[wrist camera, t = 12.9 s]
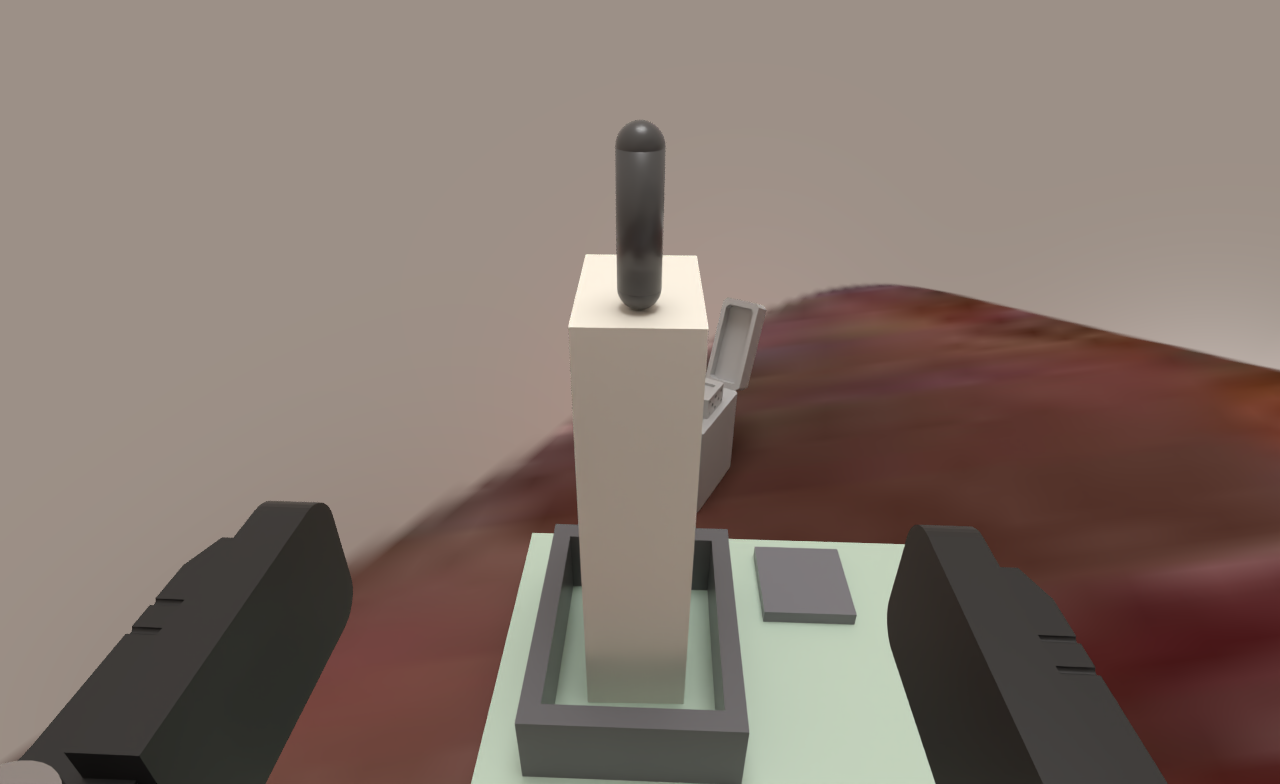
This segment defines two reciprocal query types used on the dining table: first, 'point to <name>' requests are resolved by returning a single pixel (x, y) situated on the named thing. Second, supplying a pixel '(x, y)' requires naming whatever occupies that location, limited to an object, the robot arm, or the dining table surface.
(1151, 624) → the dining table surface
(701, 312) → the cream rectangular pillar
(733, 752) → the board
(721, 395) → the lighter
